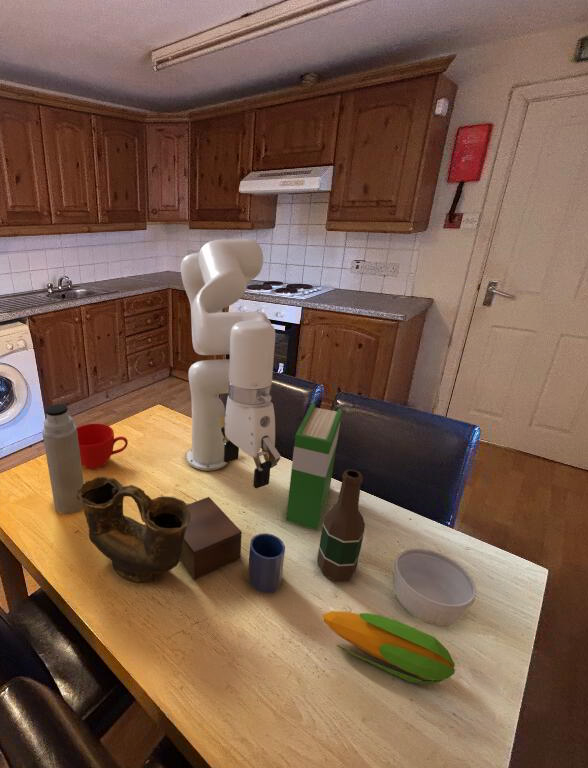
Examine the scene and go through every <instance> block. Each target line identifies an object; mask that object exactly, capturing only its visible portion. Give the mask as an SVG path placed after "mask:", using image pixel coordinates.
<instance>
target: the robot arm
mask: <svg viewBox="0 0 588 768" xmlns="http://www.w3.org/2000/svg"><path fill="white" fill-rule="evenodd" d="M263 265H264V254H263V250H262V247H261V246H260V244H259V242H257V241H256V240H254V239H251V238H230V239H229V238H227V239H214V240H210V241H208V242H206V243H205V244H203V245H202V247H201V248H200V250H199V252H194V253H193V252H192V253H190V254H187V255H186V256H184V257H183V258H182V260H181V263H180V275H181V281H182V284H183V285H182V286H183V288H184V290H185V293H186V296H187V298H188V301H189V305H190V318H191V319H190V321H191V341H192V348H193V350H194V352H195V353H196V354H197V355H201V356H221V355H229V358H228V359H227V358H226V359H225V358H224V359H206V360H205V359H204V360H199V361H196V362H194V363H192V364H191V365H190V367H189V369H188V375H187V377H188V383H189V390H190V398H191V449H190V450H189V451H187V453H186V461H187V463H188V465H189V466H191V467H192V468H194V469H197V470H201V471H206V472H207V471H208V472H209V471H217V470H220V469H222V468H224V467H226V465H228V463H230V462H233V461H236V460H237V461H238V459H239V455H240V450H241V451H242V452H243V453H245V454H246V455H248V456H249V457H251V458H253V462H254V464H255V468H254V470H253V484H252V486H253V488H254V489H256V490H257V489H260V488H263V487H266V486H268V485H269V484H270V478H271V477H270V476H271V469H273V468H275V467H276V466H277V465H278V463H279V462H280V460H281V458H282V457H281V454H280V453H279V451H278V450H277V448H276V447H275V446H276V416H275V415H276V414H275V408H274V403H273V402H272V388H273V374H274V372H273V371H274V360H275V347H276V346H275V345H276V329H275V327H274V326H273V324H272V323H271V321H270V319H269V318H268V316H267V315H266V314H265V313H263V312H261V311H256V310H255V311H228V312H227V311H226V312H225V311H224V312H223V309H225V308H227V307H230V306H231V305H233V304H235V303H237V302H238V301H240V300H241V298H243V296H244V295H245V293H246V290H247V284H248V283H250V282H251V281H252V280H254V279H256V278H257V277H258V276H259V274H260V273H261V271H262V269H263ZM223 394H224V395H225V394H227V400H226V405H225V404H224V402H223V401H222V399H221V398H220V397H219V396H218V395H223ZM261 456H263V458H264V462H262V460H261Z"/></svg>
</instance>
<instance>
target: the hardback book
mask: <svg viewBox="0 0 588 768" xmlns="http://www.w3.org/2000/svg"><path fill="white" fill-rule="evenodd" d="M342 413H343V408H339V407H338V409H337V411H335V410H330V409H325V408H322V407H321V408H320V407H316V403H311V404H310V406H309V407H308V409H307V411H306V413H305V415H304V417H303V419H302V421H301V422H300V425H299V427H298V429H297V431H296V433H295V435H294V445H293V452H292V463H291V470H290V471H291V472H290V480H289V488H288V489H289V490H288V498H287V506H286V516H285V521H286V522H289V523H293V524H296V525H299V526H301V527H302V526H303V527H305V528H309V529H312V530H314V531H318V529H319V526H320V523H321V520H322V516H323V512H324V509H325V505H326V503H327V499H328V497H329V493H330V489H331V483H332V477H333V472H334V464H335V458H336V451H337V447H338V440H339V433H340V427H341V421H342Z"/></svg>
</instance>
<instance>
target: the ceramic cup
mask: <svg viewBox="0 0 588 768" xmlns="http://www.w3.org/2000/svg"><path fill="white" fill-rule="evenodd" d="M77 434H78V442H79V450H80V458H81V465H82V467H84V468H86V469H88V470H96V469H97V470H98V469H101V468H102V467H104V466H105V465H106V463H108V461H109V460H110V458H111V456H112V455H116V454H119V453H122V452H123V451H125V449H127V447H128V443H129V441H128V439H127V438H126V437H125V436H116V437H115V431H114V429H113V428H112V427H111V426H109V425H108V424H104V423H88V424H84V425H83V424H82V425H80V426H78V427H77ZM118 441H124V443H125V444H124V445H123V446H122V447H121V448H118V449H116V450H114V446H115V444H116V443H117V442H118Z"/></svg>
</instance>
